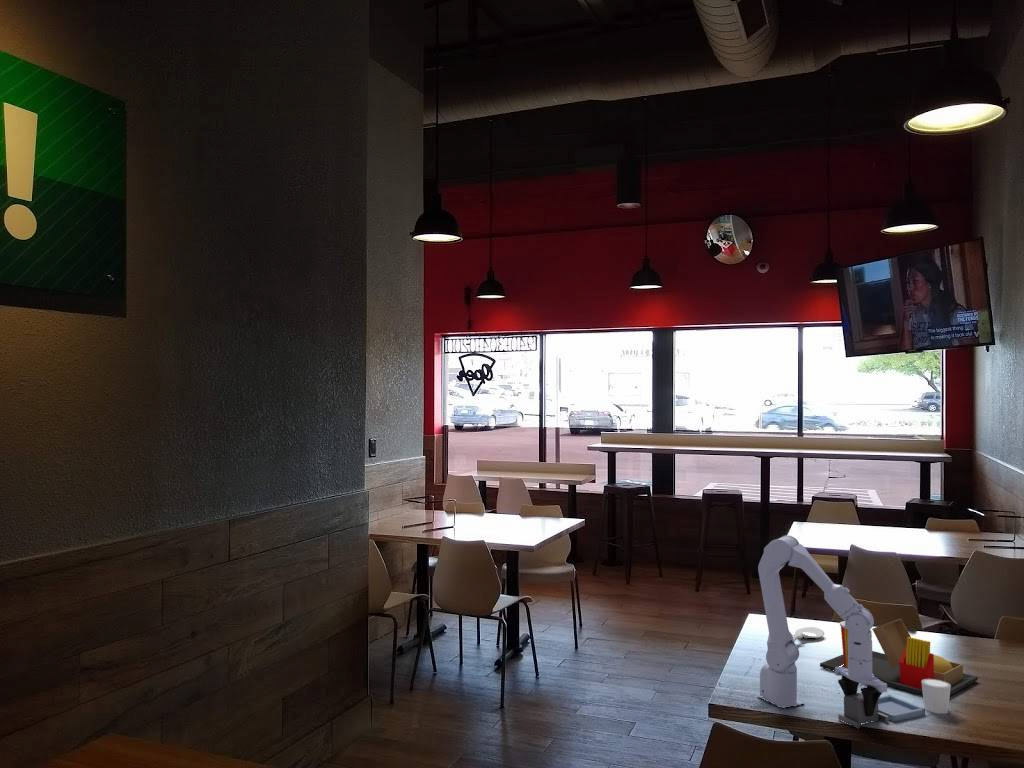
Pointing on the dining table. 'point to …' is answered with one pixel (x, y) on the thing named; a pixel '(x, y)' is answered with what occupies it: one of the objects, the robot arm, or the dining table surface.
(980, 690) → the dining table surface
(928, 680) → the white cup
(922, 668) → the fast food meal
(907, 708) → the tray
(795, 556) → the robot arm
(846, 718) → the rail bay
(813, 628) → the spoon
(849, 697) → the grey bar
